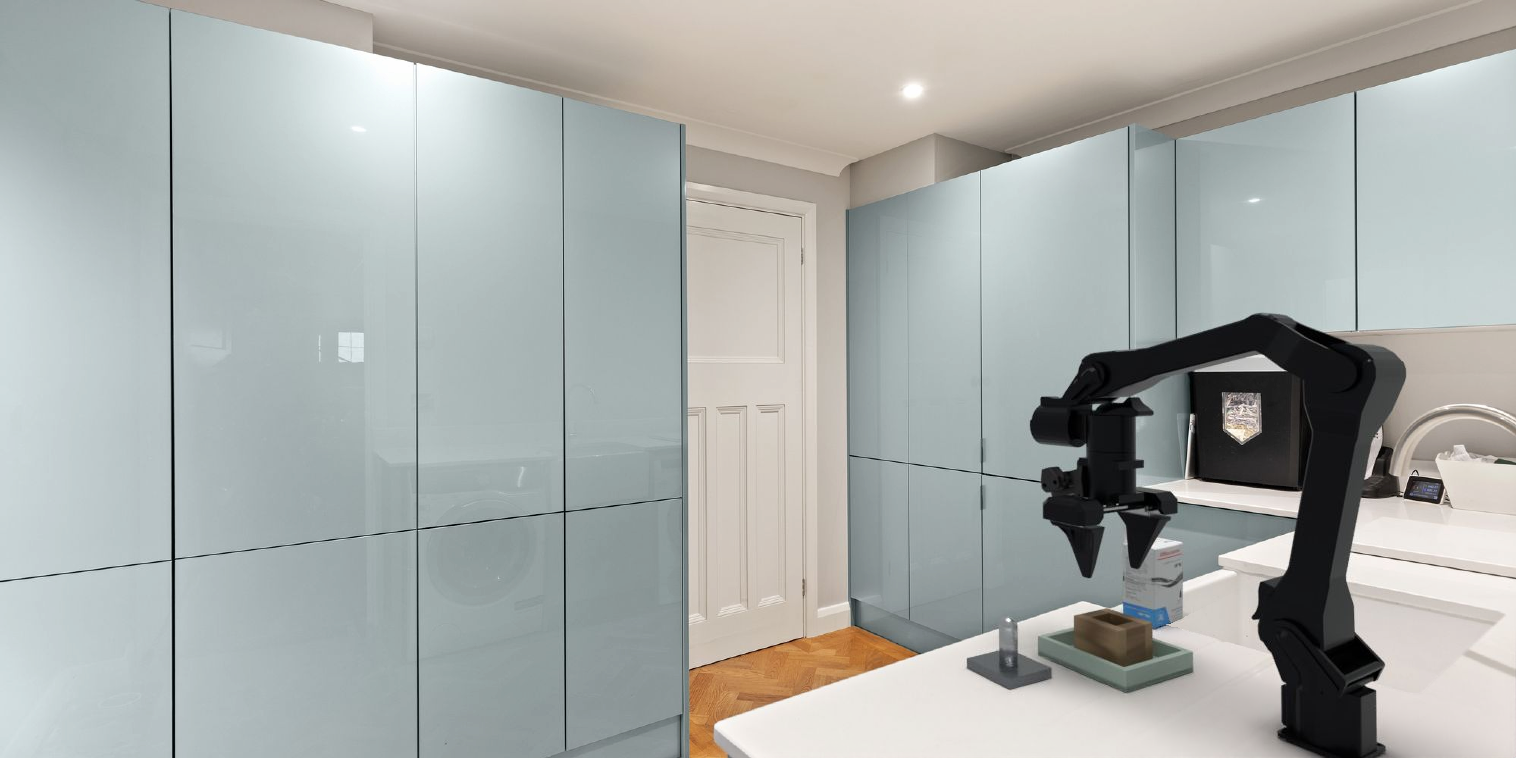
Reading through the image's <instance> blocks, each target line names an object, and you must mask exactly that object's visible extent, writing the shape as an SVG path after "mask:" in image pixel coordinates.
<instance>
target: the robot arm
mask: <svg viewBox="0 0 1516 758" xmlns="http://www.w3.org/2000/svg"><path fill="white" fill-rule="evenodd" d="M1258 355H1263V356H1264V357H1265V358H1267V359H1268V360H1270V361H1271V362H1272V363H1274V364H1275V365H1276V366H1278V367H1279V368H1280V369H1282V370H1284V371H1285V372H1287V373H1289V374H1291V375H1294V376H1295V377H1297V378H1299V379H1301V380H1302V397H1303V398H1302V401H1303V406H1304V410H1305V413H1306V417H1307V419H1308V423H1309V426H1310V429H1311V439H1310V444H1309V450H1308V456H1307V460H1306V467H1305V472H1304V479H1303V483H1302V487H1301V488H1302V490H1301V495H1300V500H1299V505H1298V511H1297V514H1296V515H1297V516H1296V522H1295V527H1294V533H1293V539H1292V544H1291V550H1290V554H1289V560H1288V565H1287V568H1286V570H1285V572H1284V573H1283V575H1281V576H1276V577H1272V578H1269V579H1266V580H1262V581H1260V582H1259V585H1258V589H1257V606H1256V609H1255V612H1254V613H1253V614H1252V615H1251V618H1250V619H1251V620H1253V621H1257V620H1258V622H1257V635H1258V639H1259V640H1260V642H1262V643H1263V645H1264V646H1265V647H1266V649H1267V651H1269V652H1270V654H1271V655H1272V659H1273V662H1274V664H1275V666H1276V669H1277V672H1278V674H1279V677H1280V680H1281V682H1282V683H1284V684H1282V685H1281V686H1280V705H1281V706H1280V713H1281V714H1280V716H1281V717H1280V719H1281V720H1280V721H1281V724H1282V725H1283V726H1284V727H1283V728H1280V729H1278V730H1276V732H1277V737H1279V738H1281V739H1283V740H1286V741H1288V742H1291V743H1293V744H1295V745H1298V746H1301V747H1303V748H1305V749H1308V750H1310V751H1313V752H1315V753H1318V754H1320V755H1322V756H1324V757H1325V756H1326V757H1327V758H1376V757H1377V756H1380V755H1381V754H1383V753H1386V751H1387V746H1386V745H1385V744H1384V743H1381V742H1378V731H1377V729H1378V728H1377V727H1378V725H1377V723H1378V721H1377V720H1378V719H1377V709H1378V708H1377V705H1378V704H1377V689H1374V688H1372V687H1368V686H1366V685H1367V684H1369V683H1372V682H1377V681H1378V680H1379V679H1380V677H1381V674H1382V673H1383V671H1384V668H1385V667H1386V663H1385V661H1384V660H1383V659H1382V658H1381V657H1380V656H1379V655H1378V654H1377V653H1376V652H1375V651H1374V650H1373V649H1372V648H1371V646H1370V645H1368V644H1367V643H1366V642H1365V641H1364V639H1363V638H1362V637H1360V636H1359V635H1358V634H1357V632H1356V629H1355V628H1356V627H1355V626H1356V625H1355V622H1356V621H1355V604H1354V601H1353V597H1352V595H1351V591H1350V588H1349V585H1348V582H1347V573H1348V567H1349V562H1350V556H1351V552H1352V547H1353V542H1354V537H1355V532H1356V527H1357V526H1356V524H1357V522H1358V521H1357V520H1358V516H1359V510H1360V504H1361V502H1362V501H1361V500H1362V496H1363V495H1362V494H1363V490H1364V485H1365V479H1366V475H1367V469H1368V463H1369V458H1370V453H1371V449H1372V448H1371V447H1372V443H1373V442H1374V441H1373V440H1374V438H1375V437H1376V435H1377V434H1378V432H1379V431H1380V429H1381V428H1382V426H1383V425H1384V423H1385V422H1386V420H1387V419H1388V418H1389V416H1390V415H1391V413H1392V412H1393V410H1394V407H1395V406H1396V403H1397V401H1398V398H1399V397H1400V394H1401V391H1402V390H1403V387H1404V385H1405V382H1406V379H1407V368H1406V366H1405V363H1404V361H1403V360H1402V359H1401V358H1400V357H1399V356H1398V355H1397V354H1396V353H1395V352H1394V351H1393V350H1390V349H1388V348H1386V347H1384V346H1380V345H1376V344H1364V343H1363V344H1362V343H1353V342H1349V341H1347V340H1345V339H1343V338H1340V337H1338V336H1335V335H1332V334H1329V333H1326V332H1324V331H1321V330H1318V329H1316V328H1313V327H1311V326H1307V325H1305V324H1303V323H1301V322H1299V321H1296V320H1294V319H1293V318H1292V317H1290V316H1288V315H1286V314H1280V313H1273V312H1271V313H1269V312H1257V313H1253V314H1250V315H1249V316H1247V317H1245V318H1244V319H1240V320H1237V321H1233V322H1231V323H1226V324H1223V325H1220V326H1217V327H1213V328H1210V329H1206V330H1203V331H1199V332H1196V333H1191V334H1189V335H1186V336H1182V337H1179V338H1175V339H1171V340H1169V341H1165V342H1162V343H1159V344H1155V345H1152V346H1148V347H1143V348H1133V349H1131V348H1130V349H1121V350H1120V349H1119V350H1117V349H1116V350H1107V351H1098V352H1092V353H1089V354H1087V355H1085V356H1084V357H1083V358H1082V359H1081V360H1080V361H1081V363H1080V364H1079V366H1078V370H1077V373H1076V375H1075V376H1074V378H1073V379H1072V381H1071V382H1070V384H1069V385H1068V386H1067V389H1065V391H1064V393H1063V394H1062V396H1060V397H1059V396H1054V395H1053V396H1052V395H1050V396H1043V395H1042V396H1041V397H1040V399H1039V401H1040V404H1039V405H1038V406H1037V407H1036V408H1035V410H1034V411H1033V413H1032V415H1031V419H1030V420H1029V430H1030V434H1031V436H1032V438H1033V439H1034V441H1035V442H1036V443H1038V444H1040V445H1045V446H1046V445H1047V446H1058V447H1067V448H1082V447H1084V446H1085V456H1083V457H1078V459H1077V461H1076V468H1075V469H1072V470H1066V471H1063V470H1062V468H1061V467H1060V466H1049V467H1045V468H1042V469H1041V474H1040V485H1041V487H1040V488H1041V490H1043V492H1045V493H1046V494H1048V493H1049V494H1051V496H1048V497H1046V499H1045V500H1044V501H1043V502H1042V519H1043V520H1048V521H1049V522H1050V524H1051V526H1055V527H1058V528H1059V529H1060V530H1061V532H1063V533H1064V534H1065V536H1066V538H1067V541H1068V542H1069V544H1070V547H1071V549H1072V552H1073V554H1074V557H1075V560H1076V564H1077V566H1078V569H1079V571H1080V573H1081V577H1083V578H1086V579H1092V577H1093V574H1094V572H1095V569H1096V565H1097V561H1098V556H1099V553H1100V547H1101V544H1102V540H1103V538H1104V532H1105V530H1106V529H1105V528H1106V527H1105V526H1103V525H1100V524H1101V523H1102V521H1103V520H1104V518H1105V517H1104V516H1105V515H1106V514H1115V513H1117V515H1118V516H1119V518H1120V519H1121V520H1122V522H1123V523H1124V524H1125V525H1126V533H1127V545H1128V556H1129V562H1130V567H1131V568H1134V569H1139V568H1140V567H1141V565H1142V563H1143V561H1144V560H1145V558H1146V556H1147V554H1148V552H1149V551H1150V549H1151V547H1152V545H1153V544H1154V542H1155V540H1156V539H1157V538H1159V535H1161V532H1162V531H1163V529H1164V528H1165V526H1166V524H1167V523H1169V522H1171V520H1172V516H1170V515H1176V514H1178V511H1179V509H1178V508H1179V505H1178V504H1179V503H1178V501H1179V500H1178V498H1177V497H1176V496H1175V495H1174V493H1173V492H1172V491H1170V490H1163V489H1158V488H1152V487H1151V488H1150V487H1143V486H1137V469H1143V468H1145V460H1144V459H1139V458H1138V459H1137V417H1152V416H1154V414H1155V412H1154V410H1153V409H1151V407H1150V406H1148V405H1146V404H1145V403H1144V402H1143V400H1141V398H1140V397H1139V396H1136V397H1135V395H1137V394H1139V393H1142V392H1144V391H1146V390H1148V389H1150V388H1153V387H1155V386H1156V385H1157V384H1159V383H1160V382H1162V381H1164V380H1166V379H1167V378H1170V377H1174V376H1178V375H1181V374H1185V373H1190V372H1193V371H1196V370H1197V371H1198V370H1201V369H1207V368H1210V367H1214V366H1218V365H1221V364H1227V363H1229V362H1234V361H1237V360H1242V359H1245V358H1249V357H1254V356H1258ZM1120 398H1126V399H1125V400H1124V401H1122V402H1115V401H1117V400H1118V399H1120ZM1093 405H1098V406H1097V407H1096V408H1095V409H1093Z"/></svg>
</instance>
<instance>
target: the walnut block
mask: <svg viewBox="0 0 1516 758" xmlns="http://www.w3.org/2000/svg"><path fill="white" fill-rule="evenodd" d="M1073 627H1074V648H1077V649H1079V650H1082V651H1084V652H1087V653H1089V654H1092V655H1094V656H1097V657H1099V658H1102V659H1104V660H1107V661H1109V662H1112V663H1114V664H1117V665H1120V666H1122V667H1127V666H1130V665H1134V664H1137V663H1141V662H1144V661H1148V660H1151V659H1153V638H1154V637H1153V634H1154V633H1153V631H1154V628H1153V627H1152V622H1148V621H1145V620H1142V619H1139V618H1136V617H1133V616H1130V615H1127V614H1124V613H1123V612H1120V611H1116V610H1114V609H1111V608H1108V607H1106V608H1101V609H1096V610H1092V611H1087V612H1085V613H1084V612H1083V613H1078V614H1075V615H1073Z"/></svg>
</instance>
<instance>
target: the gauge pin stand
mask: <svg viewBox="0 0 1516 758" xmlns="http://www.w3.org/2000/svg"><path fill="white" fill-rule="evenodd" d="M1018 631H1019V626H1018V622H1017V620H1015V618H1013V617H1012V616H1008V615H1007V616H1003V617H1001V619H999V621H998V650H995V651H994V650H993V651H990V652H987V653H982V654H978V655H974V656H969V657H966V668H967V669H969V670H971V671H973V672H974V673H977V674H978V675H980V676H983V677H985V678H986V679H989V680H990V681H992V682H994V683H996V684H998V685H1000V686H1001V687H1004V688H1005V689H1009V690H1013V689H1016V688H1019V687H1024V686H1027V685H1031V684H1035V683H1038V682H1042V681H1044V680H1048V679H1052V678H1053V672H1052V671H1053V668H1052V667H1051V666H1048V665H1047V664H1044V663H1042V662H1039V661H1037V660H1036V659H1032V658H1030V657H1028V656H1026V655H1023V654H1021V653H1020V652H1019V647H1018V646H1019V632H1018Z"/></svg>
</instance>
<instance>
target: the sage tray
mask: <svg viewBox="0 0 1516 758" xmlns="http://www.w3.org/2000/svg"><path fill="white" fill-rule="evenodd" d="M1037 656H1039V657H1043V658H1044V659H1046V660H1048V661H1051V662H1053V663H1056V664H1059V665H1060V666H1062V667H1066V668H1068V669H1070V670H1072V671H1075V672H1077V673H1080V674H1082V675H1084V676H1086V677H1088V678H1091V679H1093V680H1094V681H1098V682H1100V683H1103V684H1104V685H1107V686H1110V687H1112V688H1114V689H1115V690H1119V691H1120V692H1123V693H1130V692H1133V691H1137V690H1140V689H1143V688H1145V687H1149V686H1152V685H1155V684H1159V683H1162V682H1165V681H1168V680H1172V679H1174V678H1177V677H1182V676H1184V675H1188V674H1190V673H1193V672H1194V652H1193V650H1189V649H1186V648H1184V647H1180V646H1177V645H1175V644H1172V643H1169V642H1166V641H1162V640H1161V639H1157V638H1154V637H1153V659H1151V660H1148V661H1144V662H1141V663H1137V664H1134V665H1130V666H1127V667H1122V666H1120V665H1117V664H1114V663H1112V662H1109V661H1107V660H1104V659H1102V658H1099V657H1097V656H1094V655H1092V654H1089V653H1087V652H1084V651H1082V650H1079V649H1077V648H1074V626H1073V627H1069V628H1066V629H1060V630H1056V631H1052V632H1048V633H1044V634H1039V635H1037Z"/></svg>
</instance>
